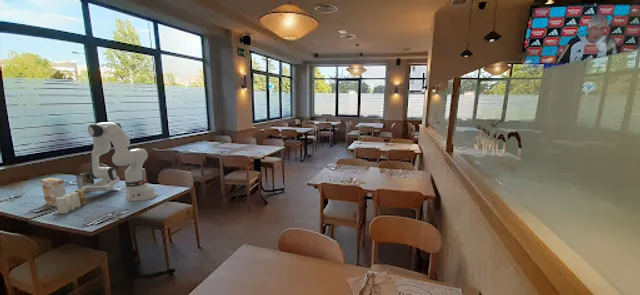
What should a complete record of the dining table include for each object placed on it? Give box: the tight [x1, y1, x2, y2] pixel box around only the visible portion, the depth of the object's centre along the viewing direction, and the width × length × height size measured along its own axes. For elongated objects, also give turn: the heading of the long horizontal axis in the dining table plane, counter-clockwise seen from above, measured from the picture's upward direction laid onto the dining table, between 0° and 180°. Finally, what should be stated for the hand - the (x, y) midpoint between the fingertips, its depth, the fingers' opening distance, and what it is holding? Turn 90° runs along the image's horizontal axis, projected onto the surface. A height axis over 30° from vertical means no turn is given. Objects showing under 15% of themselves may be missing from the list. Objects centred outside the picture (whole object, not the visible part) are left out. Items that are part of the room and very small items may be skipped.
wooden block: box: [74, 189, 87, 205], centre depth 200 cm, size 5×2×11 cm, turn 92°
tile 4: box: [56, 197, 69, 213], centre depth 185 cm, size 5×2×11 cm, turn 92°
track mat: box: [52, 196, 103, 216], centre depth 199 cm, size 10×34×1 cm, turn 2°
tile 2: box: [68, 191, 81, 207], centre depth 195 cm, size 5×2×11 cm, turn 92°
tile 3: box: [63, 194, 75, 210], centre depth 190 cm, size 5×2×11 cm, turn 92°
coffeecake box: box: [40, 177, 67, 207], centre depth 201 cm, size 15×7×20 cm, turn 69°
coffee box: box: [75, 171, 95, 194], centre depth 227 cm, size 9×6×16 cm
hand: (88, 191), depth 207 cm, fingers open, 8 cm apart
